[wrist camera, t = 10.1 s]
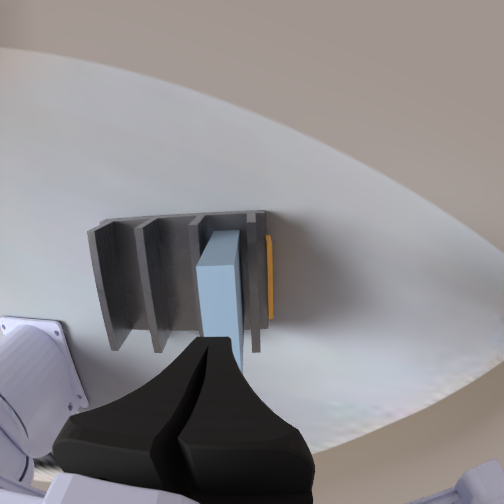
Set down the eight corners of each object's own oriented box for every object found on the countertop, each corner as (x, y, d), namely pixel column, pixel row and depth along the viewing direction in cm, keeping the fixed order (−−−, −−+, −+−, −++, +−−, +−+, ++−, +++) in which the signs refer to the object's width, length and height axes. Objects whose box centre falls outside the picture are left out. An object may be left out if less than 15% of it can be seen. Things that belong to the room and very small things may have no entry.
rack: (271, 321, 23) (275, 351, 19) (123, 322, 23) (103, 349, 19) (269, 210, 21) (273, 221, 17) (105, 219, 21) (78, 232, 17)
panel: (244, 316, 22) (242, 380, 15) (221, 317, 22) (210, 380, 15) (239, 229, 20) (234, 264, 13) (214, 231, 20) (195, 266, 13)
